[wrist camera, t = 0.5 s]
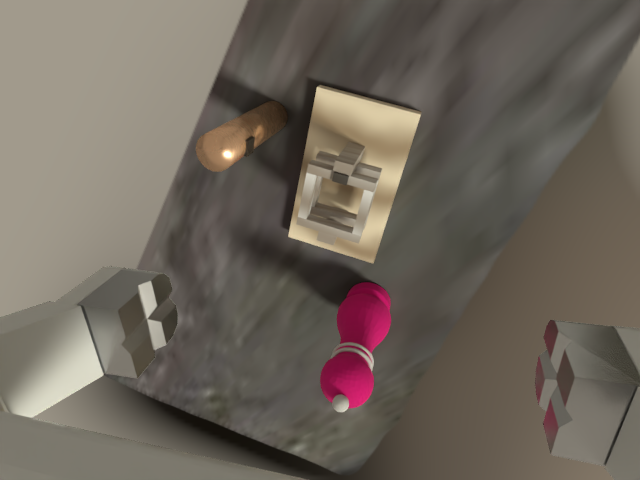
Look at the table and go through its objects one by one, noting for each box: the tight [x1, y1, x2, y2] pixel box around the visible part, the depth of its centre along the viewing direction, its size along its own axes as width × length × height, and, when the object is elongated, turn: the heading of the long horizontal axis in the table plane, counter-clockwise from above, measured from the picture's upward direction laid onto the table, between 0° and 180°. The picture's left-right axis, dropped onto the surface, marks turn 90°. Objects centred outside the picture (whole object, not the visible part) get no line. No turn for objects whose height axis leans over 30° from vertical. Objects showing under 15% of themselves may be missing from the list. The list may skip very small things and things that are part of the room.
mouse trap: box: [288, 85, 421, 263], centre depth 51 cm, size 20×12×9 cm, turn 168°
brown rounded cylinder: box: [196, 101, 288, 172], centre depth 47 cm, size 4×4×16 cm
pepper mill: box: [320, 282, 391, 412], centre depth 54 cm, size 7×7×20 cm
